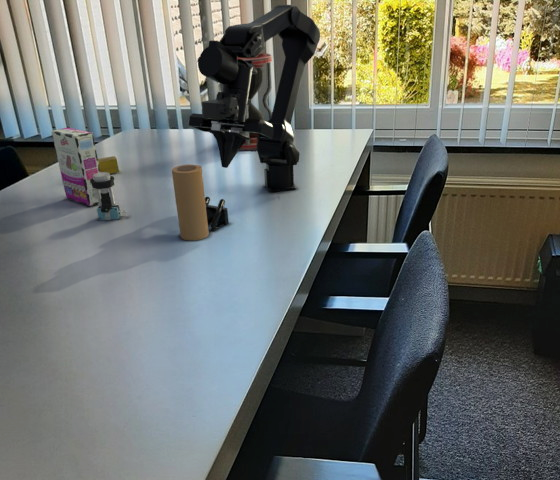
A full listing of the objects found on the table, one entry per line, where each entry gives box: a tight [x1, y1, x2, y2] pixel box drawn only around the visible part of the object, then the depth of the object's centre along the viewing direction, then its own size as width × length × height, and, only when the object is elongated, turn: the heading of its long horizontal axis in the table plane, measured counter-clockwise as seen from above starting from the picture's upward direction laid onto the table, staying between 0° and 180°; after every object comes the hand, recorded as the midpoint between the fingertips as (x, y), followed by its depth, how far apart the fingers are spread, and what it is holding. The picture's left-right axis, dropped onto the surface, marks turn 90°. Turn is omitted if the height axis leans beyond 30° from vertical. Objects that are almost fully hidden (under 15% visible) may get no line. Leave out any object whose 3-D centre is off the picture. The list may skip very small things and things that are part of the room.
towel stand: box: [205, 196, 230, 232], centre depth 134 cm, size 5×6×6 cm
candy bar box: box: [51, 127, 101, 207], centre depth 150 cm, size 11×5×16 cm, turn 47°
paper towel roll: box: [171, 164, 210, 241], centre depth 128 cm, size 14×6×14 cm
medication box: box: [98, 155, 120, 175], centre depth 171 cm, size 12×3×4 cm, turn 115°
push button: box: [90, 172, 128, 221], centre depth 140 cm, size 7×5×10 cm
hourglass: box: [219, 52, 273, 151], centre depth 188 cm, size 16×16×25 cm
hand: (224, 167), depth 134 cm, fingers closed
